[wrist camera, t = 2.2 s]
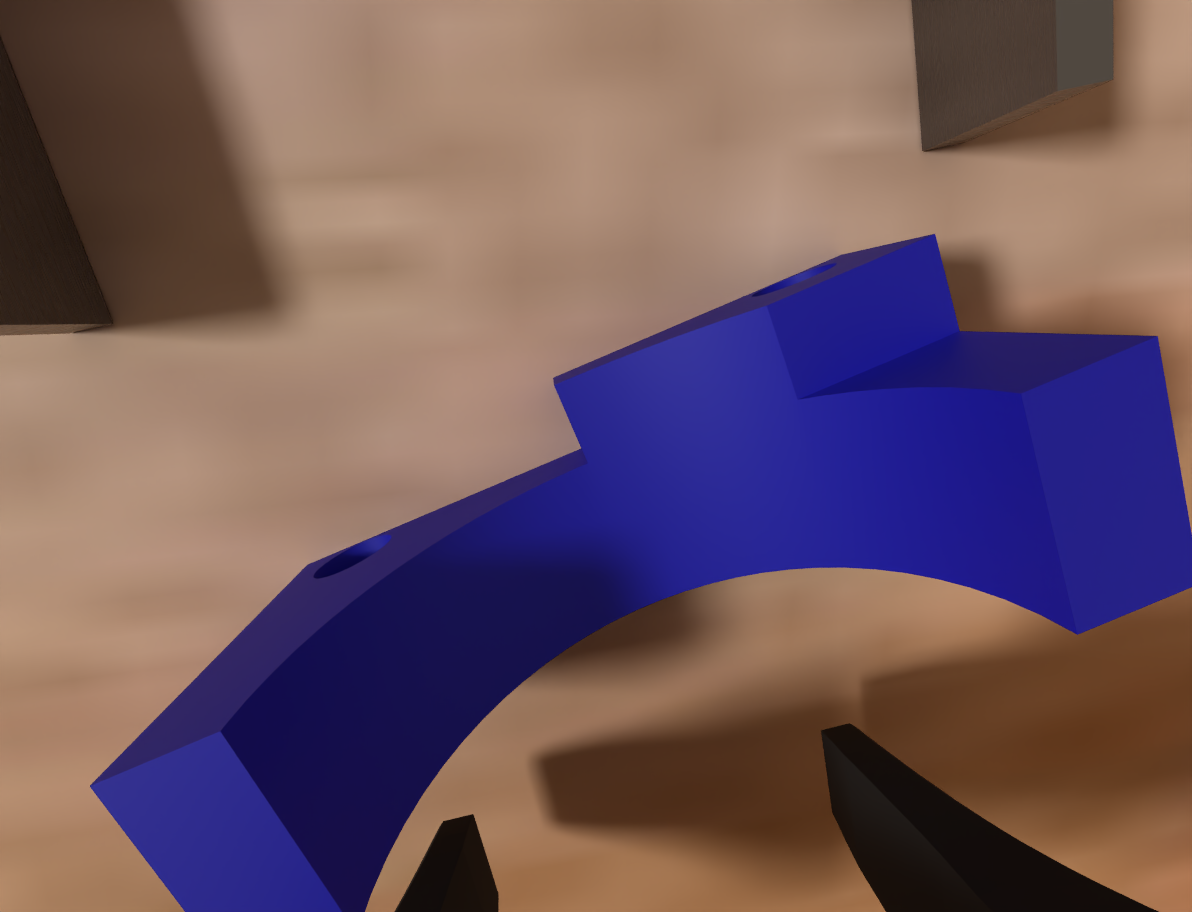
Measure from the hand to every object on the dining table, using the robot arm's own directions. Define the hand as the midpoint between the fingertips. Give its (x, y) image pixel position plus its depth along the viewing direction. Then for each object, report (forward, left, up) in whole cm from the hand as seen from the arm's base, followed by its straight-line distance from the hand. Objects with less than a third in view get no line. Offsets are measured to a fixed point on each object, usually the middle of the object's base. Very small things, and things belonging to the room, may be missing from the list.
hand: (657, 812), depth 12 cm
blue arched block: (+6, 0, -2) cm, 7 cm away
